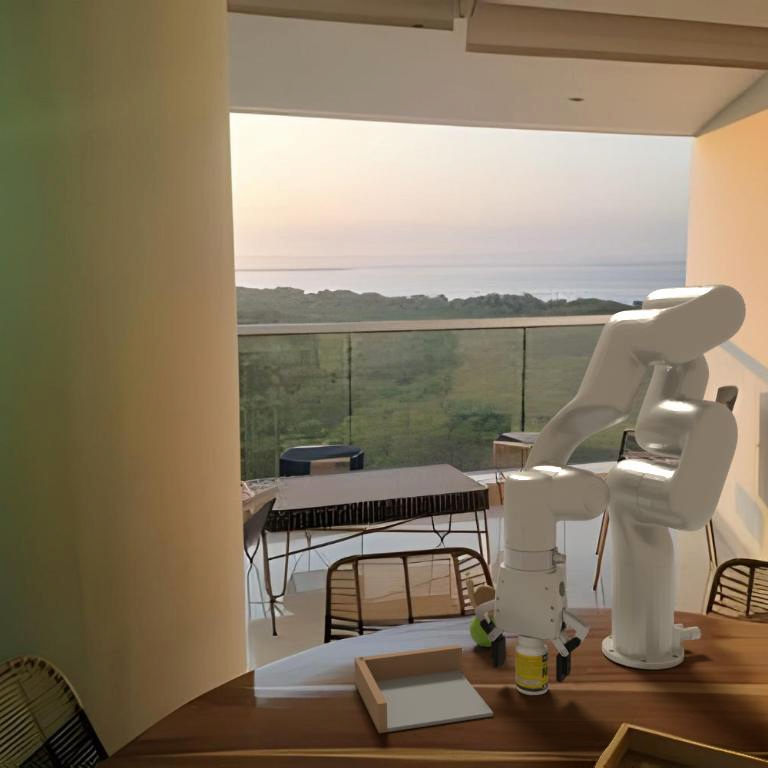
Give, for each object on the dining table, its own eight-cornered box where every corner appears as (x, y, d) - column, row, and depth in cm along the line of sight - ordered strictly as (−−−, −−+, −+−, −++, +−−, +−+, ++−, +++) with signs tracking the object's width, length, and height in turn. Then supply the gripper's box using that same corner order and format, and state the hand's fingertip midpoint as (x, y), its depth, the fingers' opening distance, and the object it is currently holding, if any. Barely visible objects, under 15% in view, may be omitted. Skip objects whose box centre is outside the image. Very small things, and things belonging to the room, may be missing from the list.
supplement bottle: (548, 697, 114) (547, 640, 113) (515, 695, 115) (514, 638, 114) (548, 682, 118) (547, 627, 118) (516, 680, 119) (515, 626, 119)
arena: (459, 669, 124) (459, 644, 123) (496, 715, 109) (496, 687, 109) (355, 683, 120) (354, 657, 119) (378, 733, 105) (378, 704, 105)
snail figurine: (474, 635, 137) (473, 567, 136) (508, 643, 133) (507, 573, 132) (459, 646, 132) (457, 576, 132) (493, 654, 129) (492, 582, 128)
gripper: (596, 559, 114) (596, 674, 115) (485, 543, 123) (486, 651, 124) (580, 573, 107) (580, 695, 109) (464, 556, 116) (465, 669, 117)
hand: (530, 671), depth 116 cm, fingers open, 9 cm apart
